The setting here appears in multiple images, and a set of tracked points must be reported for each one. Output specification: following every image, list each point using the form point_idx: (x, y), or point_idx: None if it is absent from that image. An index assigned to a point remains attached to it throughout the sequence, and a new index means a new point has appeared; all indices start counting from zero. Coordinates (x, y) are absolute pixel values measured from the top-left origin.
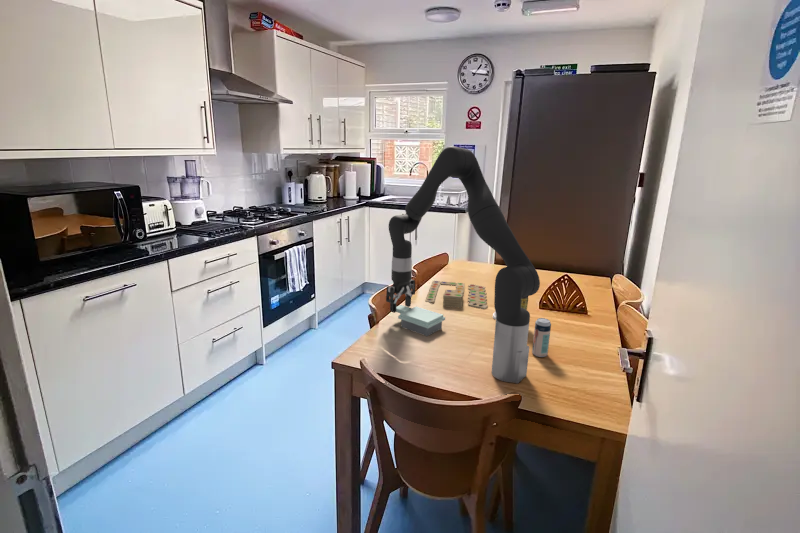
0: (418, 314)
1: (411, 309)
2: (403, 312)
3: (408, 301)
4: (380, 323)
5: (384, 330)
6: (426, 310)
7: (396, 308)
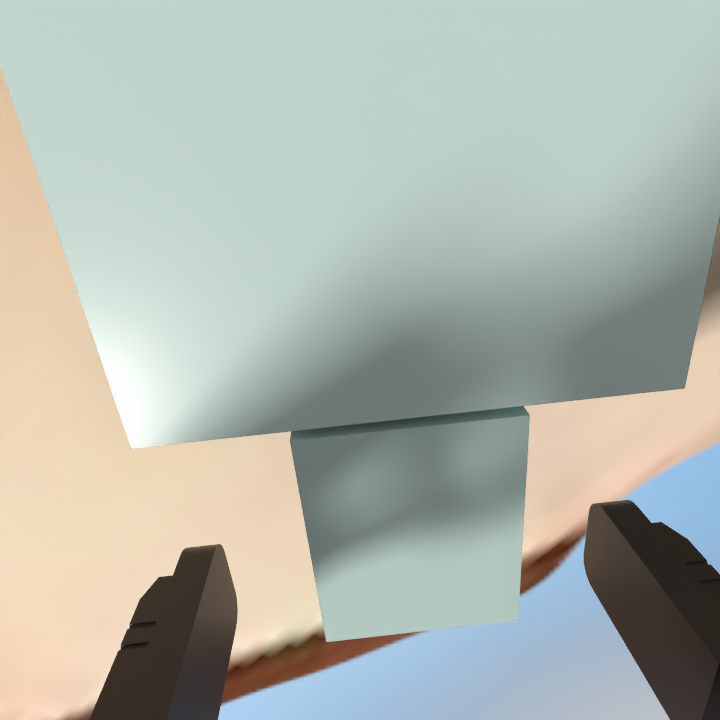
0: (483, 12)
1: (347, 390)
2: (607, 375)
3: (200, 648)
4: (569, 516)
5: (703, 366)
6: (67, 83)
7: (515, 580)
